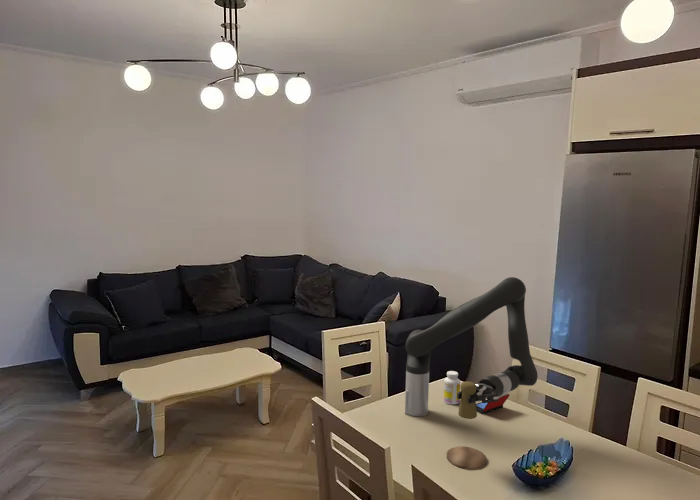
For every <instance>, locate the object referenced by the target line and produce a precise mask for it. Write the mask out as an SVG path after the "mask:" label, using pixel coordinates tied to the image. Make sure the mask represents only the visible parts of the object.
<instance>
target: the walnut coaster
mask: <svg viewBox="0 0 700 500" xmlns="http://www.w3.org/2000/svg"><path fill="white" fill-rule="evenodd" d="M446 459H447V461H448V462H449V463H450V464H451V465H453V466H455V467H457V468H460V469H465V470H477V469H479V470H480V469H481V468H483V467H485V466H487V465H486V464H487V456H486V455H485V453H484V452H482V451H481V450H479V449H476V448H473V447H469V446H455V447H451V448H450V449H448V450H447V451H446Z"/></svg>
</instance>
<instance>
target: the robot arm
mask: <svg viewBox="0 0 700 500" xmlns="http://www.w3.org/2000/svg"><path fill="white" fill-rule="evenodd" d="M526 292H527V288H526V285H525V283H524V282H523V280H522V279H520V278H518V277H513V276H510V277H507V278H504V279H503V280H502V281H501V282H500V283H498V284H497V285H495V286H494V287H492V288H491V289H490V290H488V291H486V292H485V293H483V294H481V295H479V296H476V297H475V298H472V299H470V300H469V301H466V302H464V303H462V304H460V305H459V306H456V307H454V308H453V309H452V310H450V311H449V312H447V314H445V315H444V316H442V317H441V318H440V319H439V320H438V321H437V322H435V323H434V324H433V325H431V326H430V327H428V328H426V329H423V330H422V329H415V330H413V331H411V332H410V334H409V335H408V337H407V338H406V342H405V350H406V353H407V356H406V357H407V359H406V364H405V401H404V402H405V403H404V405H405V406H404V414H405V415H409V416H413V417H423V416H427V415H428V413H429V395H430V394H429V389H430V388H429V387H430V365H431V352H432V351H431V350H433V349H434V348H436V347H437V346H439V345H441V344H442V343H444V342H445V341H447V340H450V339H452V338H454V337H456V336H458V335H460V334H462V333H464V332H465V331H468V330H469V329H471V328H473V327H475V326H477V325H479V323H481V322H482V321H484V320H485V319H486V318H488V317H489V316H490V315H492V314H493V313H494V312H496V311H497V310H499V309H501V308H503V307H506V314H507V335H508V336H507V339H508V348H509V355H510V358H512V359H514V360H517V361H519V363H520V365H519V364H518V365H517V364H516V365H510V366H508V367H507V368H506V369H504V371H502V372H497V373H493V374H490V375H488V376H485V377H482V378H481V379H480V380H479V382H478V383H474V384H475V385H476V387H477V390H476V392H475V394H474V395H471V396H469V397H468V403H469V404H471V403H474V402H477V403H480V402H482V403H489V402H496V401H498V399H499V397H501V396H504V395H507V394H509V393H510V392H512V391H514V390H516V389H517V388H518V387H519V386H527V387H528V386H530V387H531V386H534V385H536V383H537V381H538V377H539V375H538V374H539V373H538V371H537V370H538V369H537V368H536V365H535V363H534V360H533V357H532V355H531V351H530V341H529V335H528V329H527V323H526V322H527V321H526V315H525V314H526V313H525V311H526V310H525V301H526V299H525V298H526ZM461 396H462V391H461V390H460V392H458V393H457V399H460V400H461Z"/></svg>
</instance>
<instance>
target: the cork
mask: <svg viewBox="0 0 700 500" xmlns="http://www.w3.org/2000/svg"><path fill="white" fill-rule="evenodd" d="M475 384H476V383H475V382H472V381H462V382H461V383H460V391H462V396H461V399H460V402H459V408H458V414H457V415H458V416H459V417H460V418H463V419H465V420H466V419H467V420H473V419H476V418H477V417H478V412H477V411H476V404H477V403H476V402H477V401H476V402H474V403H471V404H469V403H468V397H469V396H471V395H474V394H475V392H476V390H477V387H476V385H475Z"/></svg>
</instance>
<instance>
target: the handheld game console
mask: <svg viewBox="0 0 700 500" xmlns="http://www.w3.org/2000/svg"><path fill="white" fill-rule="evenodd" d="M509 397H510V393H506V394H504V395H502V396H500V397H499V399H498V401H496V402H489V403H482V401H480V402H477V403H476V411H477V413H479V414H481V415H486V414H488V413H491V412H493V411H498V410H500V409H503V408H504V404H505V403H506V402H507V400H508V398H509Z"/></svg>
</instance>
